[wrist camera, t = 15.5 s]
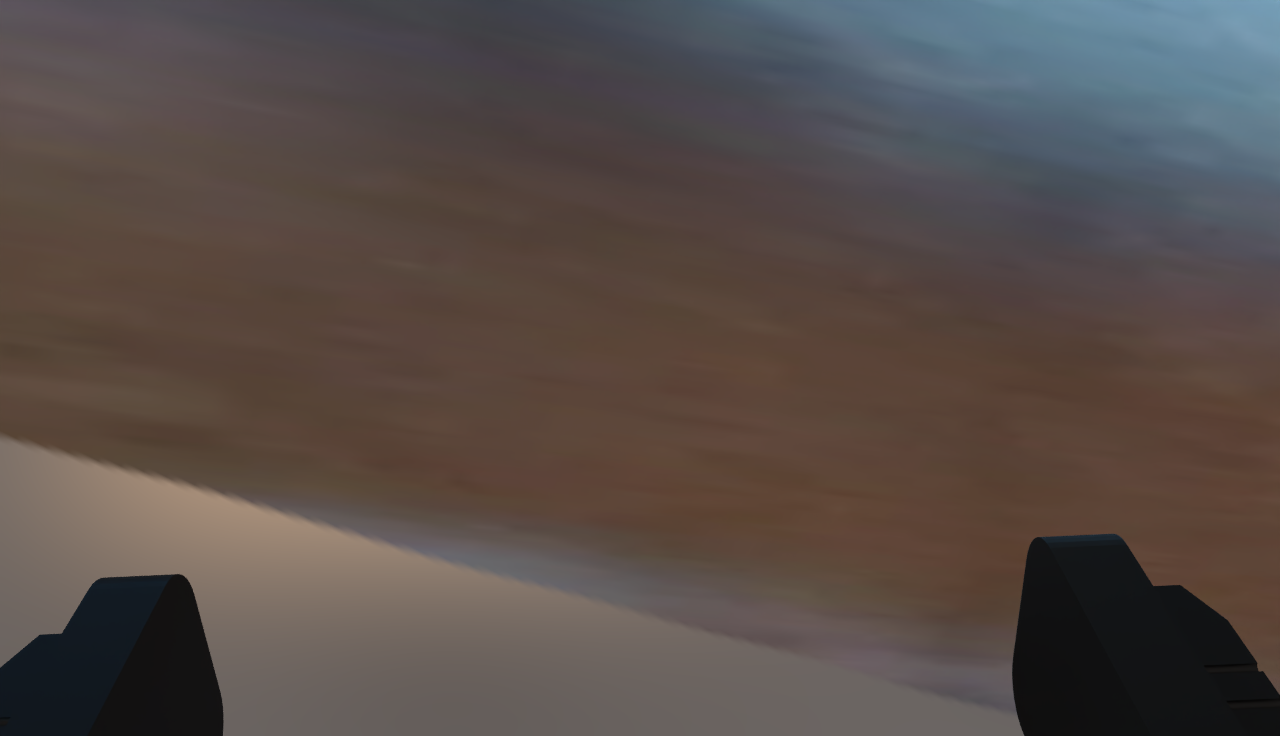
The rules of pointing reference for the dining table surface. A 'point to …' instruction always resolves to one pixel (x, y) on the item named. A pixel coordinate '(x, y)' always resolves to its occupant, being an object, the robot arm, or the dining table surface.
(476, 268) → the dining table surface
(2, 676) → the robot arm
